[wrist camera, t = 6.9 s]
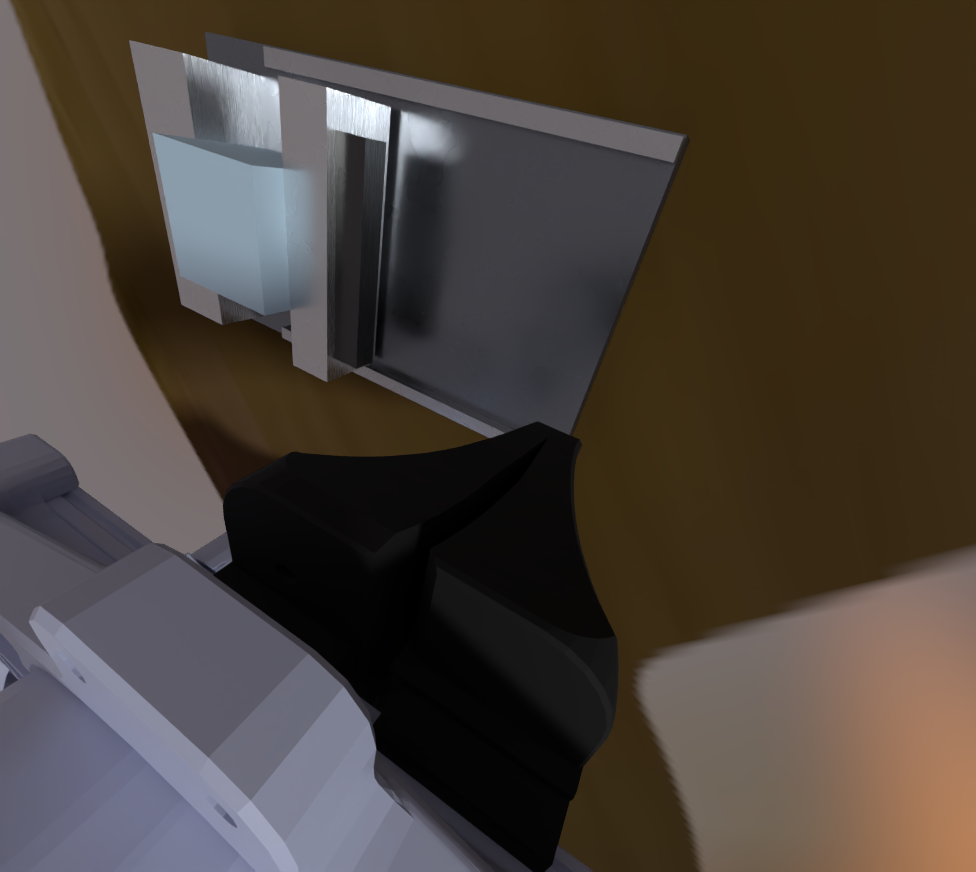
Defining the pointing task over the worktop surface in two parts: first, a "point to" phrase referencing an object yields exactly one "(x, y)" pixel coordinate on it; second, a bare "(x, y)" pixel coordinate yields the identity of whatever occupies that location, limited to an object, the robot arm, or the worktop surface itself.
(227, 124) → the vise
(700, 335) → the worktop surface
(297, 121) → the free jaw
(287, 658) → the robot arm
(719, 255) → the worktop surface
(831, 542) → the worktop surface
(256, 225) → the steel block
